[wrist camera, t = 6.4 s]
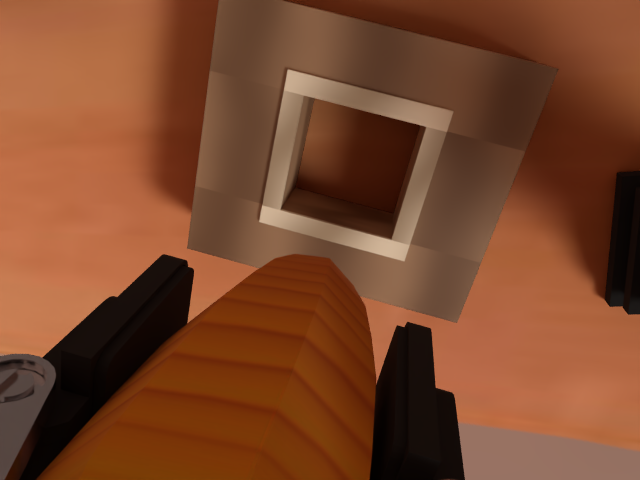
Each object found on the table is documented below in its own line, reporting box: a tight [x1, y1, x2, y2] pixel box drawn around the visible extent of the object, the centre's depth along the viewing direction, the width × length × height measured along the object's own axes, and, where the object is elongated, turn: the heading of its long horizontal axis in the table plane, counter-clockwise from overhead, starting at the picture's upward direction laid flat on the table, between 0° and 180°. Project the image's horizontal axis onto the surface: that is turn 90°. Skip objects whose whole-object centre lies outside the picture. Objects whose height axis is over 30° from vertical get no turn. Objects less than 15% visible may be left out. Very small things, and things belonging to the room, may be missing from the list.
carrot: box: [36, 254, 376, 480], centre depth 9 cm, size 5×5×15 cm
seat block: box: [187, 0, 558, 323], centre depth 28 cm, size 16×14×4 cm
